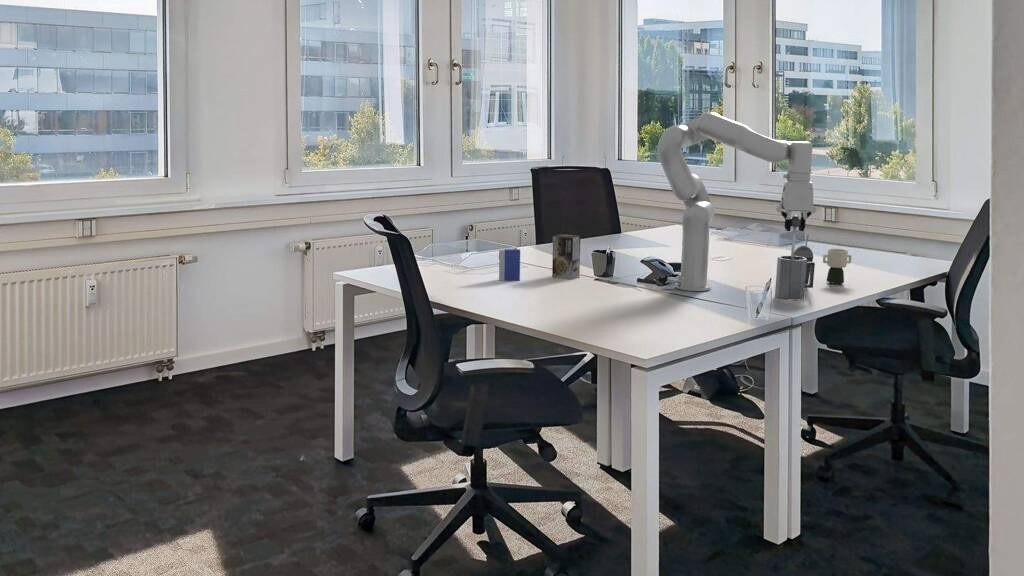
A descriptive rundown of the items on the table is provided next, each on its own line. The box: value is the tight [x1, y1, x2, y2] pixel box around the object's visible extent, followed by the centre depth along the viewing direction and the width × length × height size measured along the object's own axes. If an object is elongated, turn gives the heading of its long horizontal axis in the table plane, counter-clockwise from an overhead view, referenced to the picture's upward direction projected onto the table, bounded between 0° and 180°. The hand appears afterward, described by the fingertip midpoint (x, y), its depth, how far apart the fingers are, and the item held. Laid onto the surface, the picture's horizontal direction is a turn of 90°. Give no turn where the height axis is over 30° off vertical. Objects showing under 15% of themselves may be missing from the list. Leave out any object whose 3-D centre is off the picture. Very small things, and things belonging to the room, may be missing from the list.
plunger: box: [790, 215, 801, 260], centre depth 319 cm, size 6×6×20 cm
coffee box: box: [551, 233, 581, 280], centre depth 352 cm, size 9×6×16 cm
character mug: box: [822, 248, 852, 285], centre depth 347 cm, size 11×7×13 cm, turn 93°
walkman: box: [498, 247, 521, 282], centre depth 345 cm, size 8×3×12 cm, turn 94°
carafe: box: [774, 255, 816, 300], centre depth 322 cm, size 13×9×14 cm
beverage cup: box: [794, 234, 814, 284], centre depth 338 cm, size 7×7×20 cm
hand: (794, 230), depth 318 cm, fingers closed on plunger, 4 cm apart
